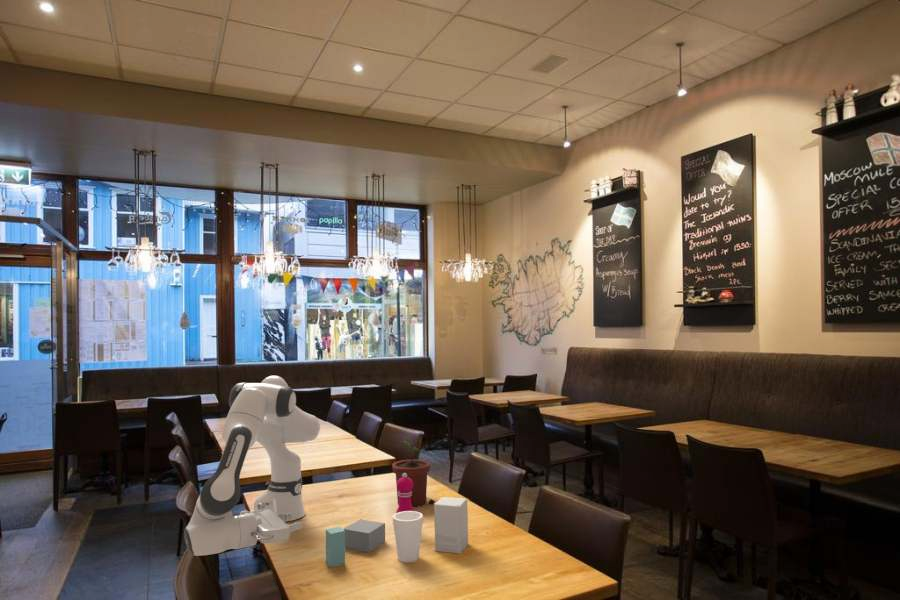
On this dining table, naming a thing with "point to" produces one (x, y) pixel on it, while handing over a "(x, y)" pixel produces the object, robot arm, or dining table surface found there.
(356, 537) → the pedestal
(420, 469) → the potted plant
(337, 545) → the block
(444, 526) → the supplement box
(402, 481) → the pepper mill
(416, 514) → the foam cup
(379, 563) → the dining table surface
